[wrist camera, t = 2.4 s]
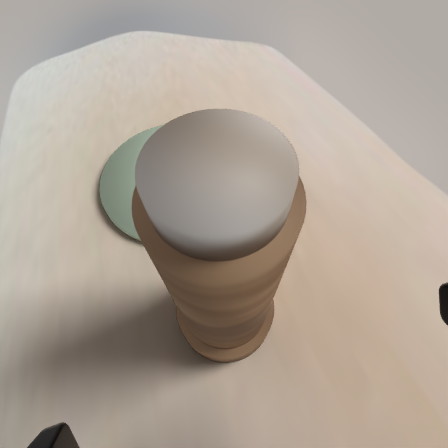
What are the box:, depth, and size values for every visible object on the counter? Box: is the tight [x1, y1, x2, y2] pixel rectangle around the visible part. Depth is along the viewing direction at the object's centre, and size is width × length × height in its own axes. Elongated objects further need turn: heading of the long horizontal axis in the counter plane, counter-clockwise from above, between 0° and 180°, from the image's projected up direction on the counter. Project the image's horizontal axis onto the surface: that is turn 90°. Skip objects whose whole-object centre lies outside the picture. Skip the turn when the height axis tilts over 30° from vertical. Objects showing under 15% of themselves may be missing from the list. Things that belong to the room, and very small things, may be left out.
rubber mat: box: [100, 125, 163, 242], centre depth 23 cm, size 11×11×1 cm
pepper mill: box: [131, 109, 306, 363], centre depth 13 cm, size 5×5×13 cm
